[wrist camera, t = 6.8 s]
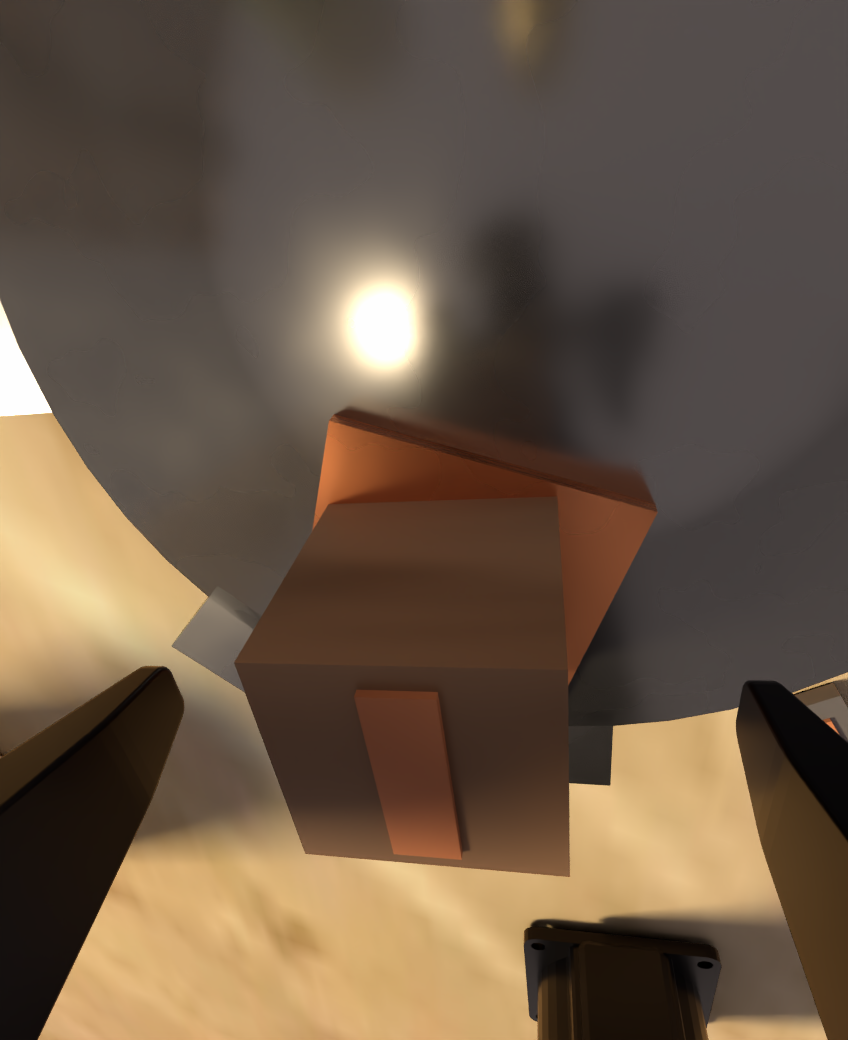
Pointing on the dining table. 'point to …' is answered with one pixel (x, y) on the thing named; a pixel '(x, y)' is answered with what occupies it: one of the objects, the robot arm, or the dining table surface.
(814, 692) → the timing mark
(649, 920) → the dining table surface
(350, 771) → the link block
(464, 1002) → the dining table surface
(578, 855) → the dining table surface
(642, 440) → the sprocket
